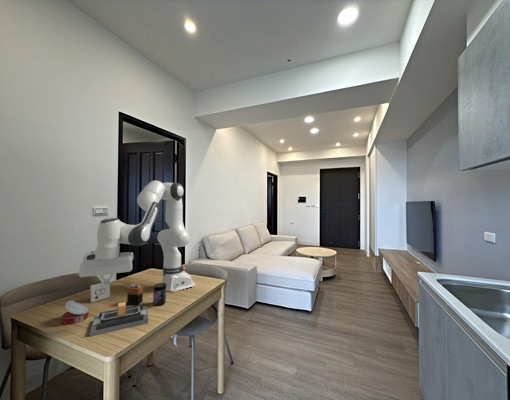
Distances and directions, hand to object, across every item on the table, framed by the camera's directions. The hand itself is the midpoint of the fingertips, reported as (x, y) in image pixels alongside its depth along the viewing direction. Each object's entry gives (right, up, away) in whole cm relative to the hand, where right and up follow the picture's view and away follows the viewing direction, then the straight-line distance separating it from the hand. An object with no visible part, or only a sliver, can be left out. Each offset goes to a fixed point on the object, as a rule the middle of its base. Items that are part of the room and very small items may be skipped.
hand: (106, 283), depth 97 cm
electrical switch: (-23, -20, +26) cm, 39 cm away
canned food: (-18, -19, +4) cm, 26 cm away
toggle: (+5, -17, +3) cm, 18 cm away
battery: (+1, -20, +22) cm, 30 cm away
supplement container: (+14, -20, +22) cm, 33 cm away
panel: (+5, -19, +3) cm, 20 cm away
